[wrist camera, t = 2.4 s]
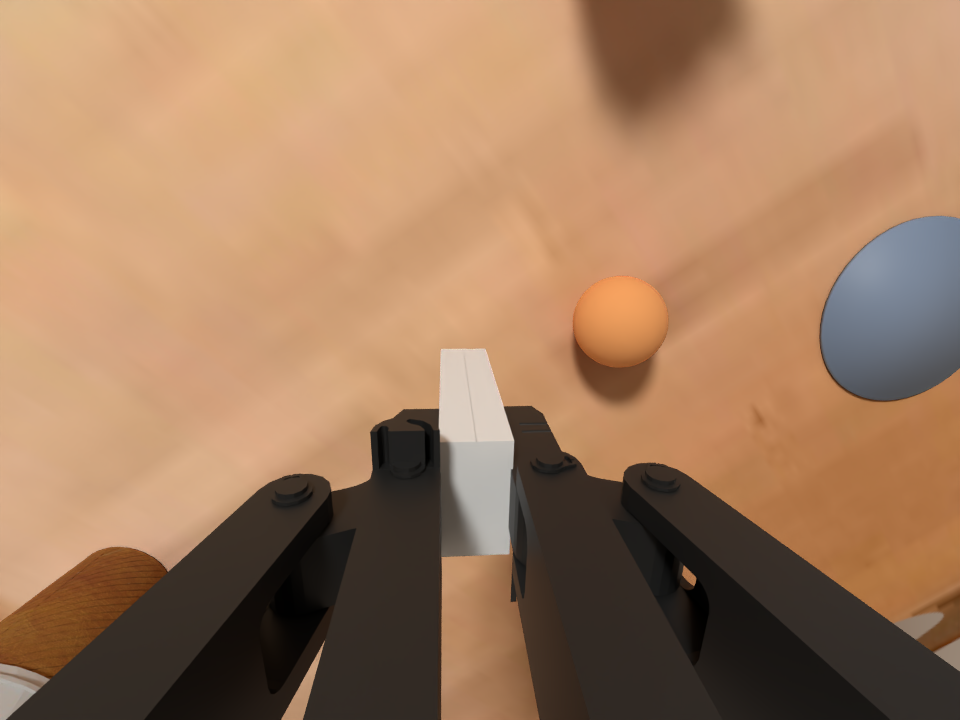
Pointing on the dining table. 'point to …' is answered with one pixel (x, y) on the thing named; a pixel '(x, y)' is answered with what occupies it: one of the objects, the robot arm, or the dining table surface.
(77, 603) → the disposable coffee cup
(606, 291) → the ball
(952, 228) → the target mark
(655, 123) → the dining table surface
